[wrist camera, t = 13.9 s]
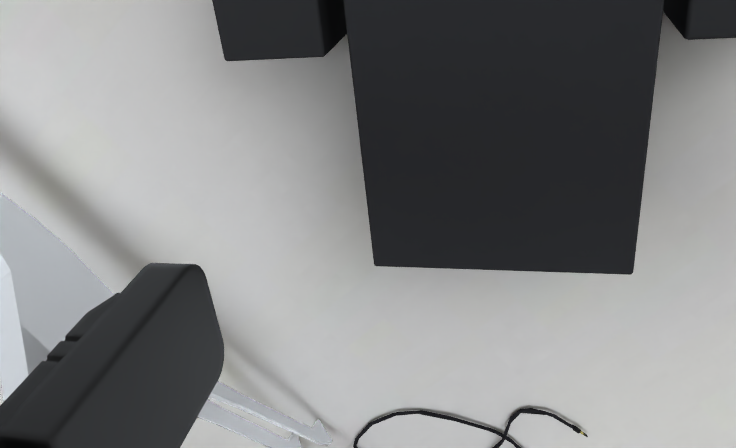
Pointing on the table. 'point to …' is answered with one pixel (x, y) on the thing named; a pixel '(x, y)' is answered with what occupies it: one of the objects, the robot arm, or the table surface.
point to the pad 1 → (328, 26)
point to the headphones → (504, 436)
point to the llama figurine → (66, 308)
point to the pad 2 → (504, 130)
